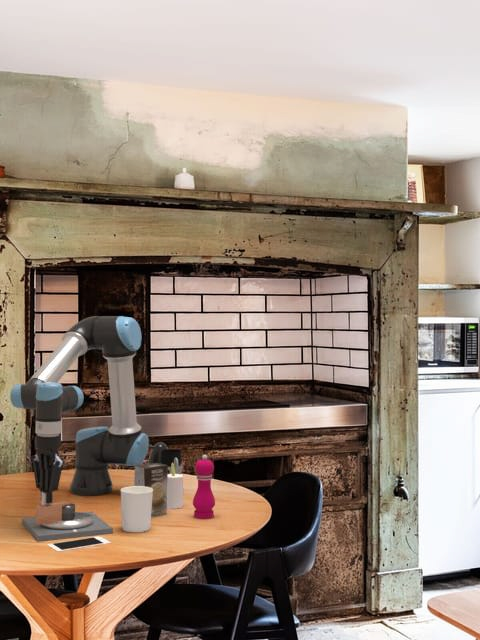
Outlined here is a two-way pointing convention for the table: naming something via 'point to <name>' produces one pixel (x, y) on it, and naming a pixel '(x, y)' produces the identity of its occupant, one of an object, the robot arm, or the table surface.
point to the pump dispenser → (156, 452)
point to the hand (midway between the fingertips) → (46, 513)
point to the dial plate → (52, 534)
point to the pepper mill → (204, 489)
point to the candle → (174, 490)
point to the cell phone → (78, 543)
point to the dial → (62, 516)
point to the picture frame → (172, 459)
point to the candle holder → (136, 508)
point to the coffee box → (154, 484)
